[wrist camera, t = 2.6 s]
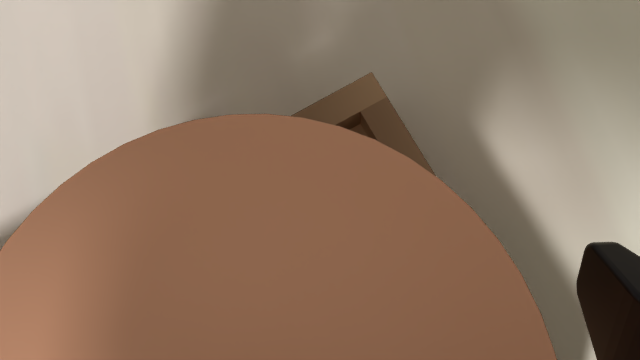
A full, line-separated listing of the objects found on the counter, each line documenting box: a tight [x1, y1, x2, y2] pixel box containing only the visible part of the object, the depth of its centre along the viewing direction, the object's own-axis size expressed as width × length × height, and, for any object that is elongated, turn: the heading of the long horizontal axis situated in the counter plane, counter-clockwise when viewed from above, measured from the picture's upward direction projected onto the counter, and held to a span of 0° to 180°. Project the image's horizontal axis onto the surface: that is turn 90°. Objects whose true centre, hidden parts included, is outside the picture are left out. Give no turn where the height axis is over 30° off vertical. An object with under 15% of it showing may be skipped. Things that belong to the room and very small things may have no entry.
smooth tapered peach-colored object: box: [0, 114, 557, 360], centre depth 9 cm, size 5×5×10 cm
